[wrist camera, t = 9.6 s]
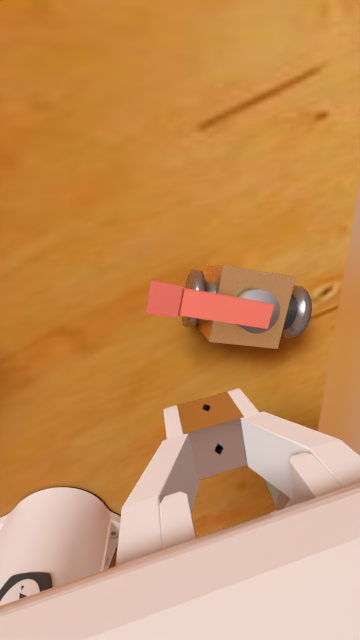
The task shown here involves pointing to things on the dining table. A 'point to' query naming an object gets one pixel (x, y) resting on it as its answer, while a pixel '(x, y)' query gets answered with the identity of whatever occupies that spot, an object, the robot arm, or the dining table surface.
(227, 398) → the robot arm
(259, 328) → the lever
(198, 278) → the valve
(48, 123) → the dining table surface
